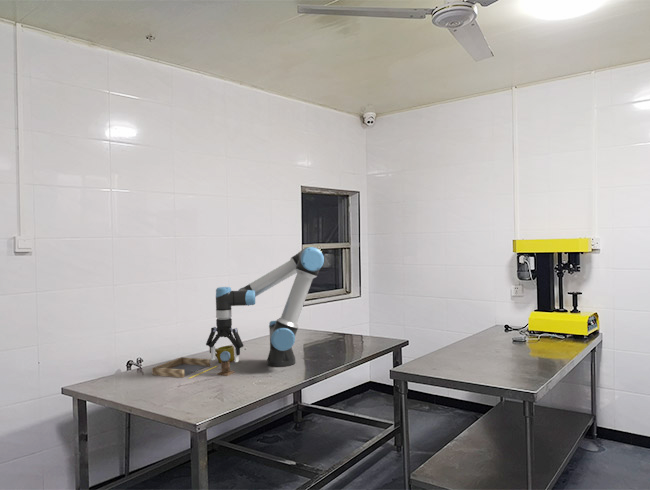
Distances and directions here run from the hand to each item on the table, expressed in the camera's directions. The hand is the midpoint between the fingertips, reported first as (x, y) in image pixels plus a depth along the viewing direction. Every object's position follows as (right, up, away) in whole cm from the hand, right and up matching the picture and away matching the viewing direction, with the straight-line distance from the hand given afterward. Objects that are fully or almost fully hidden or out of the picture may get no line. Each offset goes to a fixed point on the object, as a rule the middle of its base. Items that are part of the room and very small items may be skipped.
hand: (224, 360), depth 245 cm
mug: (-6, -7, +25) cm, 27 cm away
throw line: (-12, -7, +5) cm, 14 cm away
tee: (0, -7, 0) cm, 7 cm away
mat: (-24, -7, +10) cm, 27 cm away
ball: (0, +2, 0) cm, 2 cm away
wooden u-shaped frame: (-24, -7, +10) cm, 27 cm away
